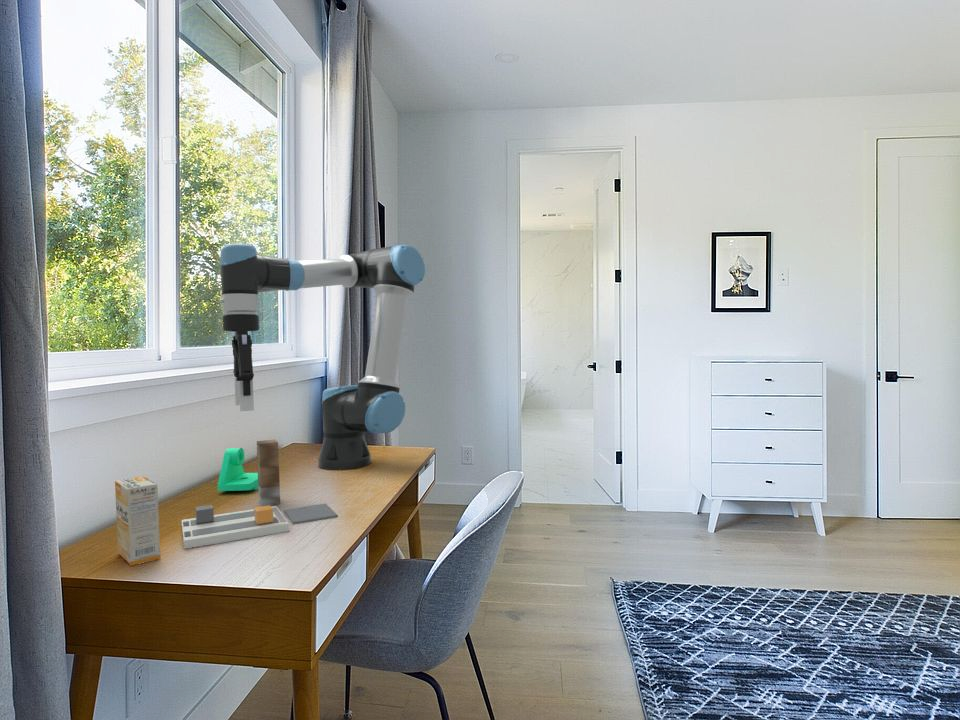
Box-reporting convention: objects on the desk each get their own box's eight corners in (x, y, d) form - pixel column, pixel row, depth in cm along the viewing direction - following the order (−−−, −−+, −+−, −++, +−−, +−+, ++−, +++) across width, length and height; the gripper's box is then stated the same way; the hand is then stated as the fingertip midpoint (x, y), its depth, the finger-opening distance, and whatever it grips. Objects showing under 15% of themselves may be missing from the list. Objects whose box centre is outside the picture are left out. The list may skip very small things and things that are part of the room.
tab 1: (212, 517, 117) (212, 504, 117) (213, 520, 114) (213, 508, 114) (195, 519, 116) (195, 507, 116) (196, 523, 113) (196, 510, 113)
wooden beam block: (277, 499, 135) (275, 439, 135) (280, 503, 132) (278, 441, 131) (258, 502, 134) (256, 441, 133) (261, 506, 130) (259, 443, 130)
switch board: (276, 512, 125) (276, 505, 125) (289, 531, 113) (288, 522, 112) (181, 527, 116) (181, 519, 116) (184, 548, 104) (183, 540, 104)
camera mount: (249, 494, 141) (248, 452, 141) (218, 495, 141) (216, 453, 141) (268, 482, 153) (266, 443, 153) (239, 483, 153) (237, 444, 153)
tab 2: (270, 517, 116) (270, 505, 116) (273, 521, 113) (272, 509, 113) (254, 520, 114) (254, 507, 114) (256, 524, 112) (256, 511, 112)
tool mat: (325, 505, 130) (325, 503, 130) (337, 516, 121) (337, 514, 121) (283, 511, 126) (283, 509, 126) (292, 524, 117) (292, 522, 117)
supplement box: (116, 554, 102) (113, 480, 101) (147, 547, 105) (144, 475, 105) (129, 567, 96) (125, 488, 95) (161, 559, 99) (158, 482, 99)
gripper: (219, 316, 141) (223, 403, 142) (225, 311, 119) (230, 414, 120) (252, 316, 145) (256, 401, 146) (264, 311, 122) (268, 412, 123)
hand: (244, 407), depth 133 cm, fingers open, 13 cm apart
